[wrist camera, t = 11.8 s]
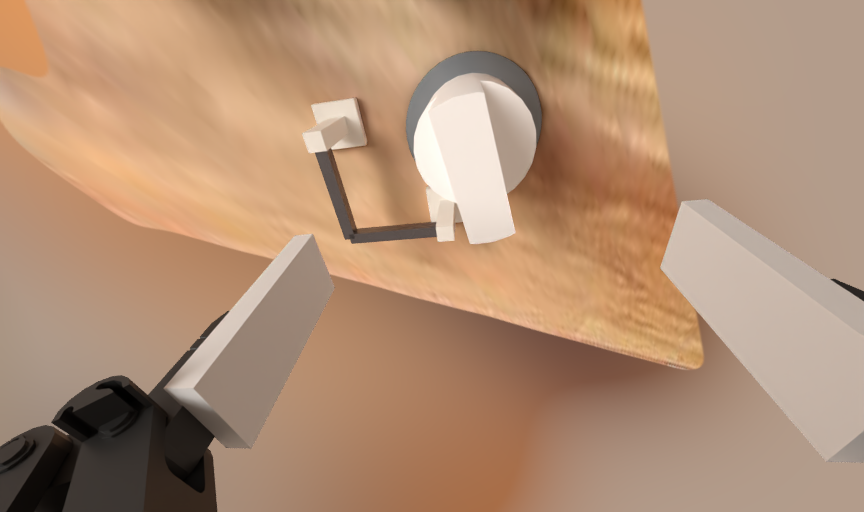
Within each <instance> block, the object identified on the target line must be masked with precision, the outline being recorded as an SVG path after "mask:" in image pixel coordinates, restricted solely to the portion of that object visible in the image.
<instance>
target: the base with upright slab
mask: <svg viewBox="0 0 864 512" xmlns="http://www.w3.org/2000/svg"><path fill="white" fill-rule="evenodd" d="M535 150H536V128H535V125H534V121H533V118H532V115H531V113H530V111H529V110H528V108H527V106H526V105H525V103H524V102H523V100H522V99H521V98H520V97H519V96H518V95H517V94H516V93H515V92H514V91H513V90H512V89H511V88H510V87H509V86H508V85H506V84H505V83H504V82H503V81H501V80H500V79H498V78H496V77H493V76H491V75H488V74H482V73H469V74H464V75H460V76H457V77H455V78H453V79H451V80H450V81H448V82H446V83H445V84H444V85H443V86H442V87H441V88H439V89H438V90H437V91H436V92H435V93H434V95H433V97H432V98H431V100H430V102H429V103H428V105H427V107H426V108H425V110H424V112H423V114H422V115H421V117H420V119H419V121H418V124H417V128H416V131H415V135H414V156H415V160H416V165H417V168H418V170H419V172H420V174H421V176H422V178H423V180H424V181H425V182H426V183H427V184H428V186H429V187H430V188H431V189H432V190H433V191H434V192H436V193H437V194H439V195H440V196H442V197H443V198H445V199H447V200H449V201H452V202H455V203H457V205H458V208H459V211H460V214H461V217H462V220H463V224H464V227H465V230H466V233H467V236H468V239H469V242H470V244H480V243H489V242H495V241H497V240H500V239H503V238H506V237H509V236H511V235H513V234H514V233H516V232H515V228H514V223H513V219H512V215H511V210H510V206H509V201H508V197H507V194H508V193H509V192H510V191H512V190H513V189H515V187H516V186H517V185H518V184H519V183H520V182H521V181H522V180H523V178H524V177H525V176H526V174H527V172H528V170H529V168H530V166H531V164H532V162H533V158H534V154H535Z"/></svg>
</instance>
